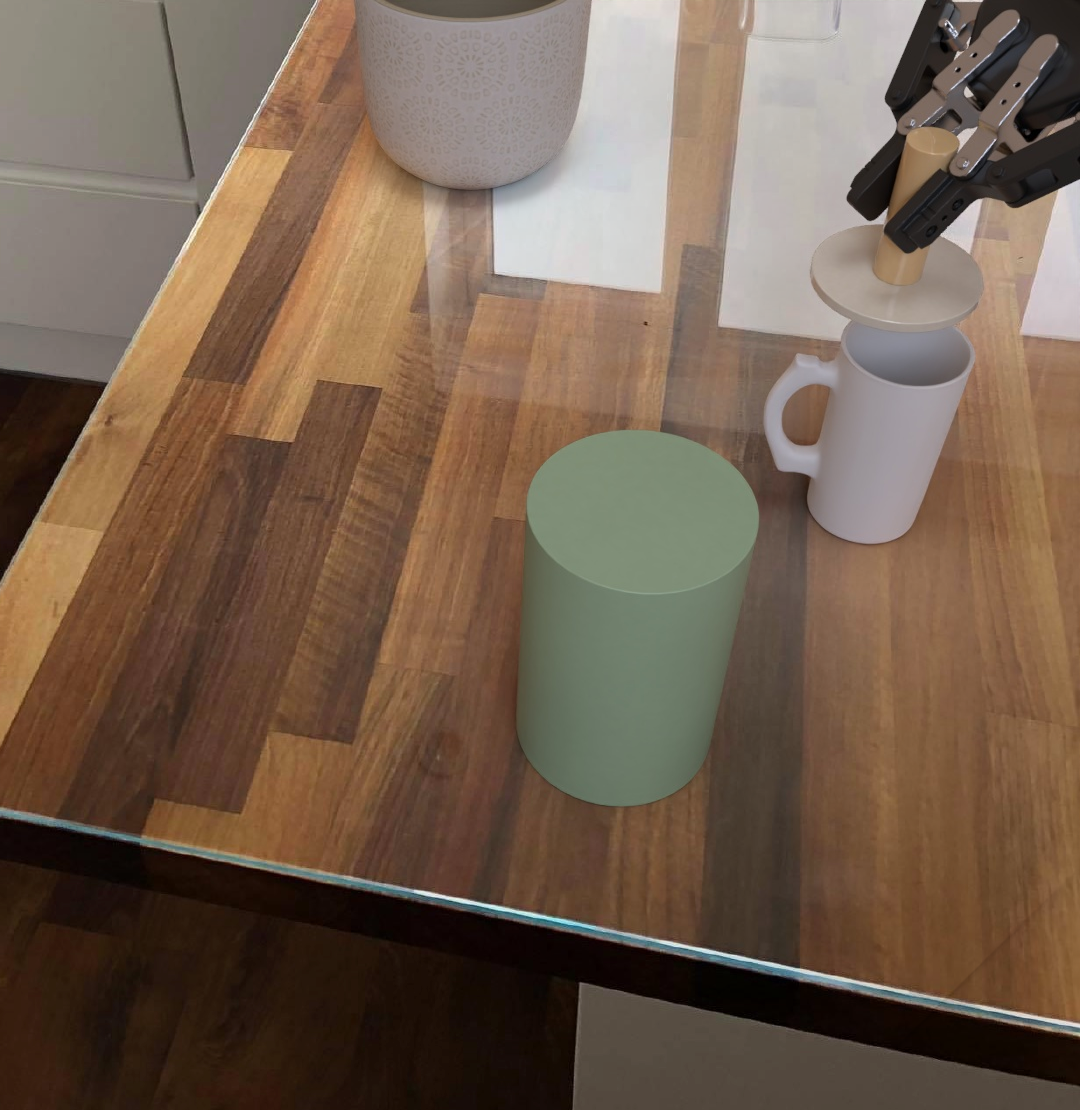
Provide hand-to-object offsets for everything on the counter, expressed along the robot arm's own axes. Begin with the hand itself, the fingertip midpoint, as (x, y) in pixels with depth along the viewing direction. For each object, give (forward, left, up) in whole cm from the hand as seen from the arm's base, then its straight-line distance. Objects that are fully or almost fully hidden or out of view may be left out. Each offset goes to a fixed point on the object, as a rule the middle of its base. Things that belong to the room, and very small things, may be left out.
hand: (877, 226), depth 67 cm
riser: (-4, +19, -20) cm, 28 cm away
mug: (-1, -2, -20) cm, 20 cm away
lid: (-1, -2, -4) cm, 4 cm away
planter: (+42, -11, -20) cm, 48 cm away
